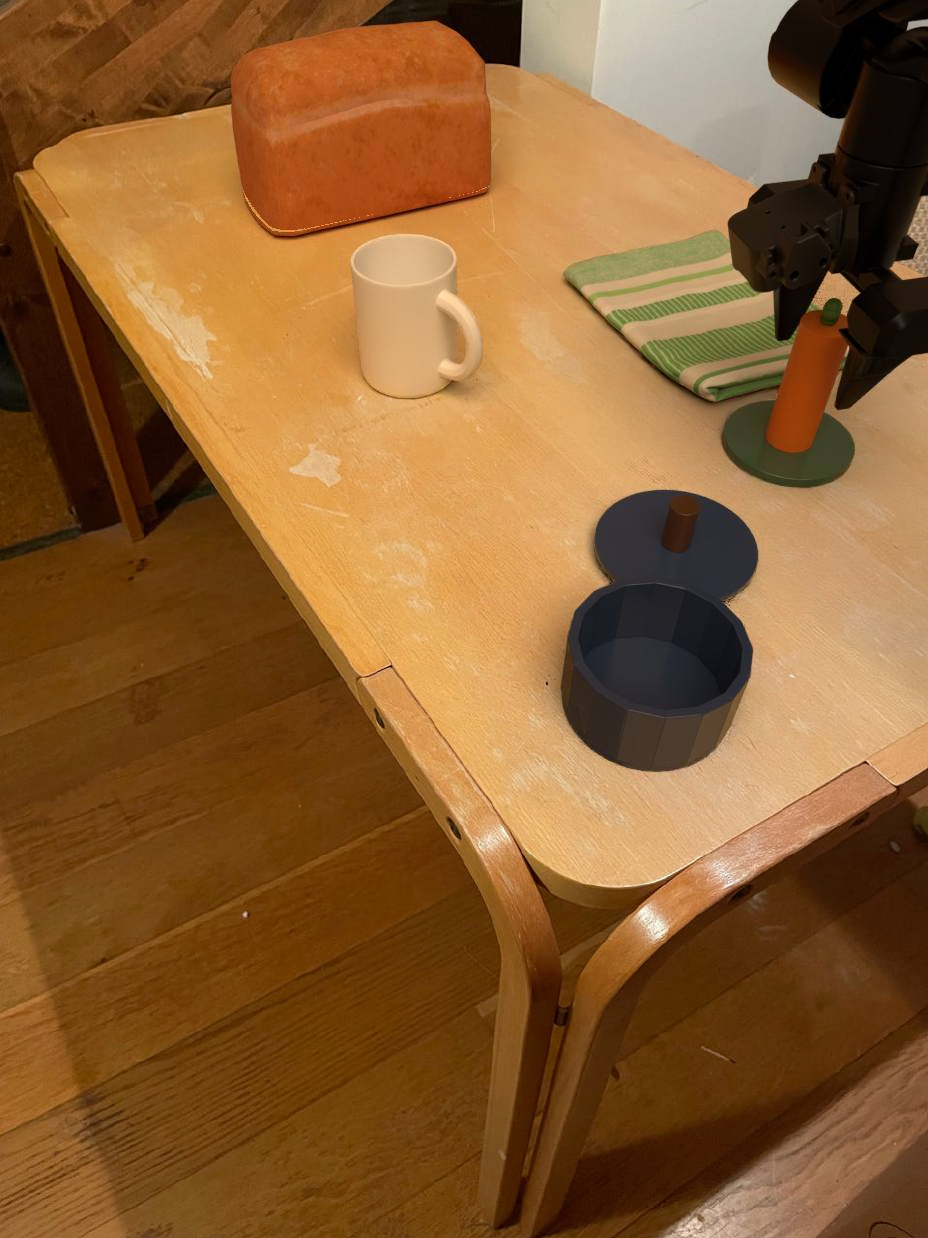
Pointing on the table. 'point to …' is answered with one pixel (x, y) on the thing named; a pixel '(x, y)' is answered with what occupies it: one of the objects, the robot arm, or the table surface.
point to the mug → (411, 316)
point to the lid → (677, 541)
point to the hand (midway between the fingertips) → (810, 372)
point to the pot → (654, 672)
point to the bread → (360, 124)
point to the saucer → (784, 468)
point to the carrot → (808, 379)
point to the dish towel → (690, 314)
